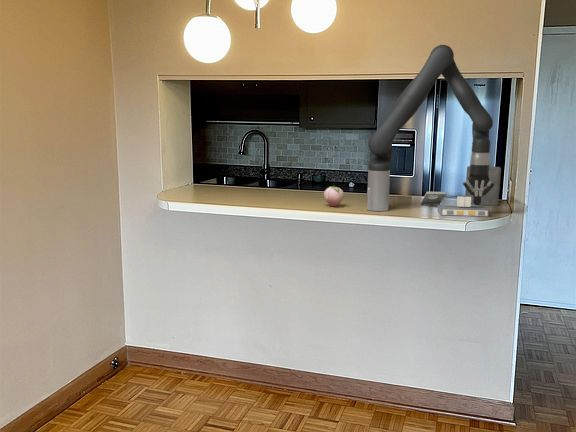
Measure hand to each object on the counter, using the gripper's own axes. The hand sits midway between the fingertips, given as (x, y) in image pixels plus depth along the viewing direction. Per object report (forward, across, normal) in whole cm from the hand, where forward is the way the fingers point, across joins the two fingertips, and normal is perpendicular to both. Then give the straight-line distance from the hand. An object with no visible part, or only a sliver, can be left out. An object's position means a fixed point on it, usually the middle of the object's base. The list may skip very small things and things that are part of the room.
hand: (476, 205), depth 236 cm
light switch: (+4, -16, +17) cm, 24 cm away
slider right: (+1, -4, 0) cm, 4 cm away
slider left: (0, -7, 0) cm, 7 cm away
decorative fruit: (+4, -60, +10) cm, 61 cm away
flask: (+4, +8, +29) cm, 30 cm away
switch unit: (+4, -6, 0) cm, 7 cm away
